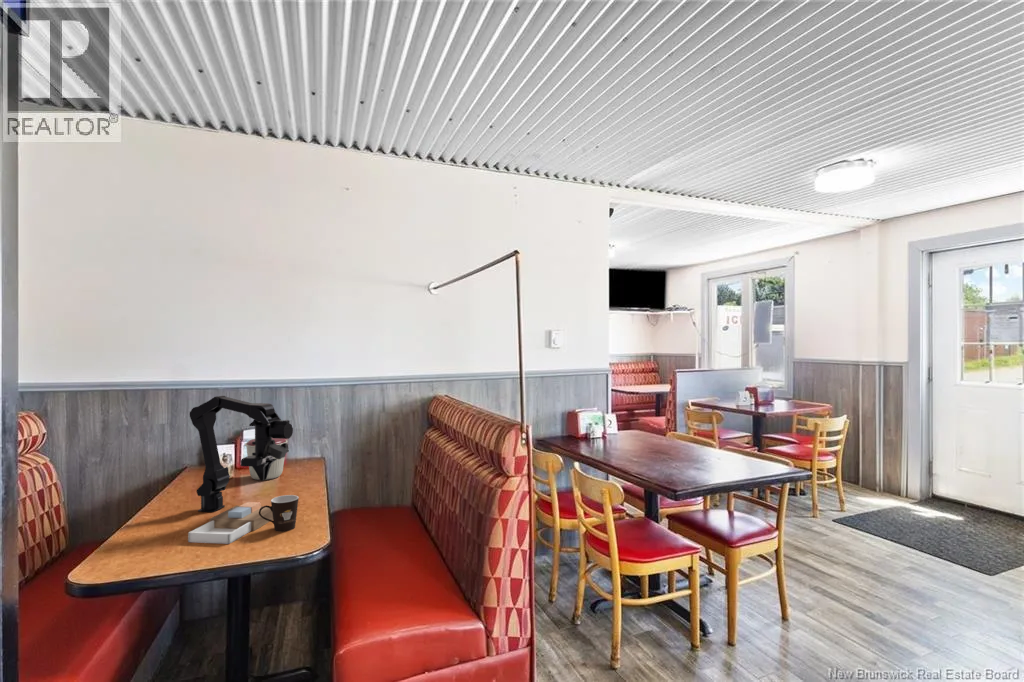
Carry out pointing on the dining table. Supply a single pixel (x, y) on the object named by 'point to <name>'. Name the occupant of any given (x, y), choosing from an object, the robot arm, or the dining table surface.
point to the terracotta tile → (252, 505)
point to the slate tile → (239, 512)
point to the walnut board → (242, 519)
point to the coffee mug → (283, 512)
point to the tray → (217, 534)
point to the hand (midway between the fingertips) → (263, 479)
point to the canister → (275, 466)
